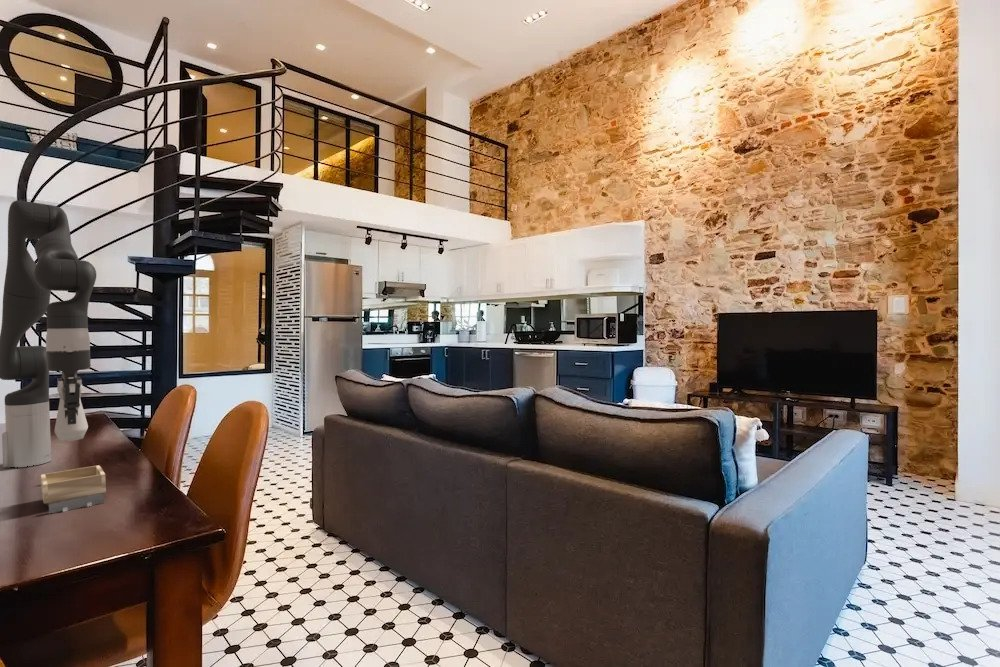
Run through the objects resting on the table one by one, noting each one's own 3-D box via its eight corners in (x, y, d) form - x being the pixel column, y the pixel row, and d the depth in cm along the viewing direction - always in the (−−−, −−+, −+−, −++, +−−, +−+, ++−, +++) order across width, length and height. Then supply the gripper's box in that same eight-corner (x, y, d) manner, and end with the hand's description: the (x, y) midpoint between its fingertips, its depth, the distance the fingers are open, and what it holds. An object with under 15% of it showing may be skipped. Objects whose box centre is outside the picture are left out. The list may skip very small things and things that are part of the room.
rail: (42, 484, 126) (42, 476, 126) (89, 476, 132) (89, 468, 132) (49, 514, 106) (49, 505, 106) (104, 503, 112) (103, 494, 112)
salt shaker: (95, 436, 118) (93, 380, 117) (72, 442, 112) (69, 383, 112) (71, 436, 118) (70, 379, 118) (47, 441, 113) (45, 383, 112)
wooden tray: (44, 510, 108) (43, 484, 107) (41, 498, 115) (40, 474, 115) (106, 497, 115) (105, 474, 115) (100, 487, 122) (99, 465, 122)
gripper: (44, 348, 117) (47, 423, 118) (48, 350, 107) (50, 433, 107) (86, 347, 122) (88, 419, 123) (93, 349, 112) (96, 427, 113)
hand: (71, 425), depth 115 cm, fingers closed on salt shaker, 3 cm apart
